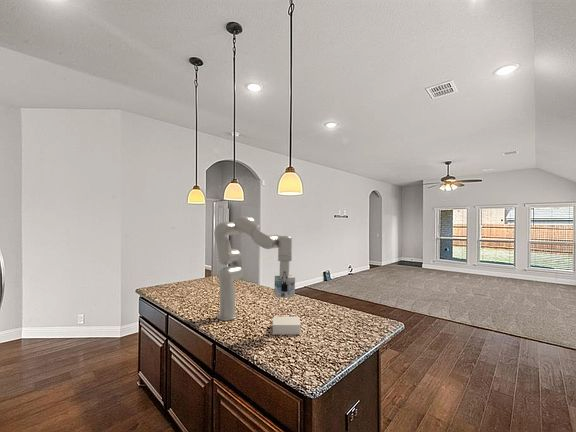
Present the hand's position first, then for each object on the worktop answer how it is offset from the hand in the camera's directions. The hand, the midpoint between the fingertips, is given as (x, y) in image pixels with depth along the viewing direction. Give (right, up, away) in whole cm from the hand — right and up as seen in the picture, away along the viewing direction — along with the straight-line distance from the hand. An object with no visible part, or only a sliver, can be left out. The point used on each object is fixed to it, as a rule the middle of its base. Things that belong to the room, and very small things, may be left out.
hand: (284, 289), depth 156 cm
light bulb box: (0, -4, 0) cm, 4 cm away
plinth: (+1, -23, +1) cm, 23 cm away
